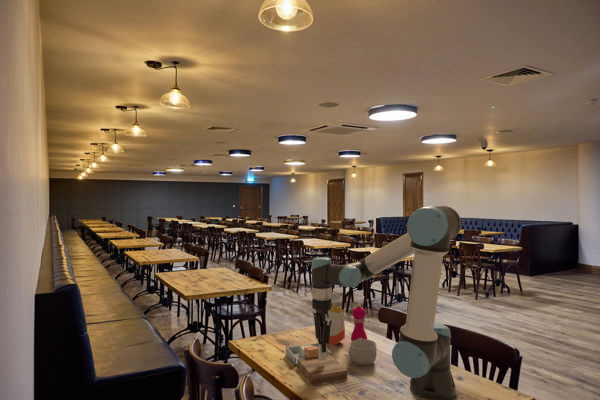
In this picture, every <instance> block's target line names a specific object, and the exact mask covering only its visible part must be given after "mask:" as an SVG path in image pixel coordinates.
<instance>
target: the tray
mask: <svg viewBox="0 0 600 400" xmlns="http://www.w3.org/2000/svg"><path fill="white" fill-rule="evenodd" d="M309 345H312V346H317V347H318V342H317V343H309V344H302V345H294V346H293V345H292V346H286V347H285V357H287V358H288V360H289V361H290V362H291V363H292V364H293V366H294V367H298V359H301V358H304V357H303V356H302V355H301V354H300V347H301V346H309ZM326 354H327V355H331V356H332V357H333V353H332V351H331V350H329V349H328V348H327V347H326Z"/></svg>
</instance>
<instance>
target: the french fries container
mask: <svg viewBox="0 0 600 400" xmlns="http://www.w3.org/2000/svg"><path fill="white" fill-rule="evenodd" d="M342 308H343V307H342V306H336V304H333V305H332V308H331V309H329V310H328V315H329V318H328V319H329V320H331V321H332V323H331V327H330V338H329V343H328V344H330V345H333V346H334V345H336V346H337V344H339V343H340V342H342V341H343V340H344V339H345V338H346V333H345V332H346V328H345V327H346V326H345V314H344V313H345V312H344V310H343V309H342Z"/></svg>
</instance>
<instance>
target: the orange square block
mask: <svg viewBox="0 0 600 400" xmlns="http://www.w3.org/2000/svg"><path fill="white" fill-rule="evenodd" d="M304 355H306V356H307V357H308V358H311V357H318V356H319V353H318V347H317V346H309V347H304Z"/></svg>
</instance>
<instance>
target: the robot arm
mask: <svg viewBox="0 0 600 400" xmlns="http://www.w3.org/2000/svg"><path fill="white" fill-rule="evenodd" d="M461 228H462V219H461V216H460V214H459V213H458V212H457V211H456V210H455V209H454V208H452V207H450V206H448V205H428V206H427V205H426V206H424V207H420V208H418V209H416V210H415V211H413V212H412V214H410V216H409V218H408V221H407V223H406V230H407V231H406V233H405V234H402V235H401V236H399V237H398V238H395V239H394V240H393V241H391V242H389V243H387V244H386V245H384V246H382V247H381V248H379V249H377V250H376V251H373V252H372V253H370V254H368V255H367V256H366V257H364V258H361V259H360V260H358V261H355V262H351V263H347V264H333V263H332V258H331V257H327V256H326V257H325V256H322V257H321V256H320V257H319V256H317V257H314V258H312V261H311V290H310V292H311V297H312V299H311V308H312V309H313V310H314V311H315V312H313V313H312V315H313V320H314V321H313V323H314V329H315V330H314V331H315V333H314V334H315V339H316V340H317V343H318V353H319V360H320V361H323V360H327V354H326V348H327V344H329V338H330V327H331V323H332V321H331V320H329V319H328V318H329V315H328V310H329V309H331V308H332V309H333V305H332V304H333V303H332V302H333V300H332V298H333V297H332V295H333V293H332V292H333V291H332V290H333V289H332V286H333V285H335V286H339V287H345V288H356V287H358V286H359V284H360V283H361V282H363V281H368V280H370V279H372V278H373V277H374V276H375V275H377V274H379V273H381V272H382V271H384V270H386V269H388V268H390V267H392V266H394V265H396V264H397V263H399V262H401V261H403V260H405V259H407V258H409V257H410V256H412V255H413V263H412V270H411V278H410V288H409V296H408V303H407V304H408V305H407V311H406V312H407V313H406V320H405V321H406V322H405V324H404V325H402V326H401V327H400V329H399V338H398V342H396V343H395V345H394V346H393V348H392V351H391V359H392V362H393V365H394V366H395V367H396V368H397V371H399V372H400V373H401V374H402V375H404V376H405V377H408V378H410V380H409V387H410V390H411V392H412V393H413V394H415V395H416V396H418V397H421V398H423V399H426V400H452V399H453V398H454V397H456V392H457V390H456V389H457V388H456V387H457V386H456V383H455V381H454V380H455V379H454V378H453V375H452V371H451V338H452V335H451V329H450V327H448V326H447V325H445V324H443V323H442V324H441V323H437V322H435V321H436V312H437V305H438V299H439V297H438V296H439V289H440V282H441V274H442V266H443V259H444V256H446V255H447V254H448V253H449V252H450V245H451V240H453V239H454V238H456V237H457V236H458V235H459V233H460V231H461Z"/></svg>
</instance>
